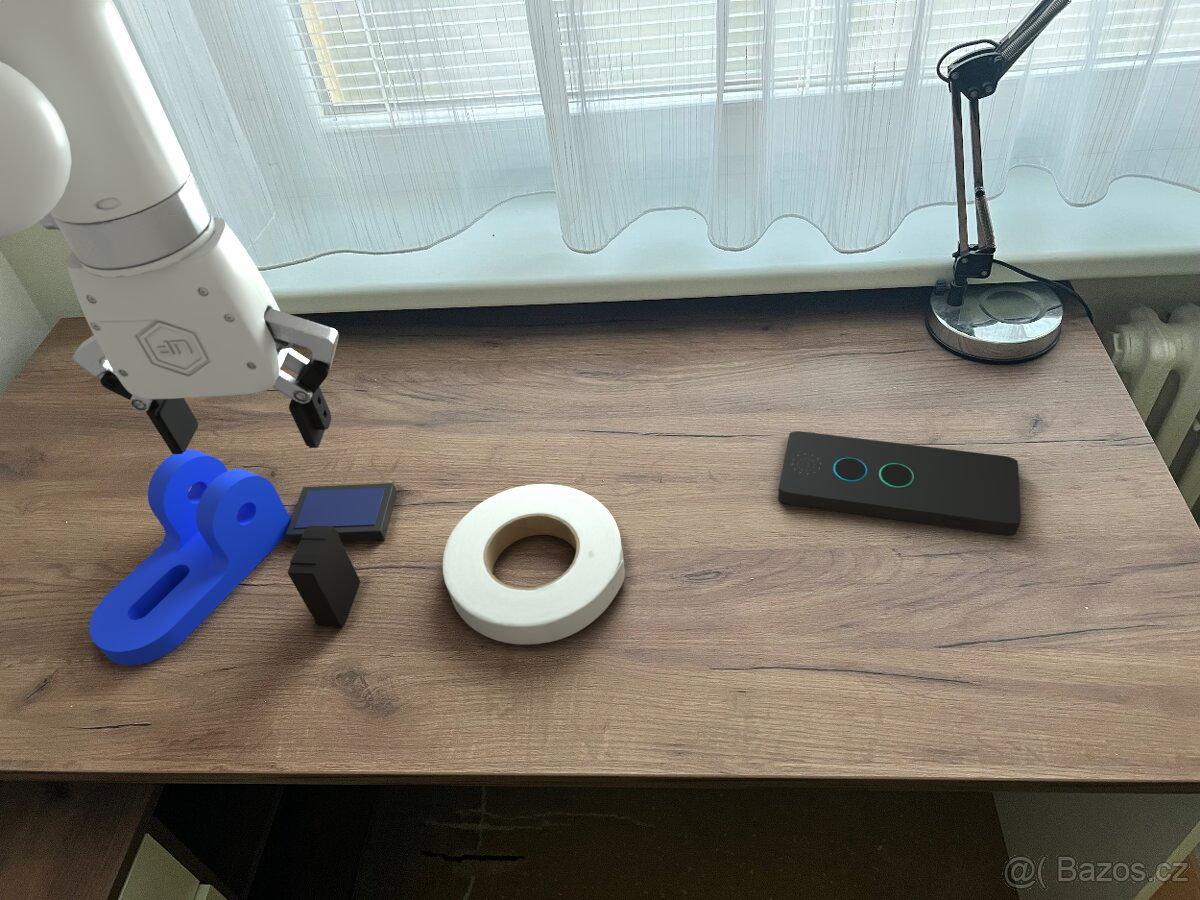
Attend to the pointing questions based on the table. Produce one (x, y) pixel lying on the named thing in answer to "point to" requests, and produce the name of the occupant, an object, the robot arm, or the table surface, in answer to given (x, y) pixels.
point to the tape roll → (545, 606)
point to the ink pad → (345, 511)
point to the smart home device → (902, 482)
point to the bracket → (189, 555)
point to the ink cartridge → (324, 576)
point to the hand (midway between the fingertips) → (252, 437)
